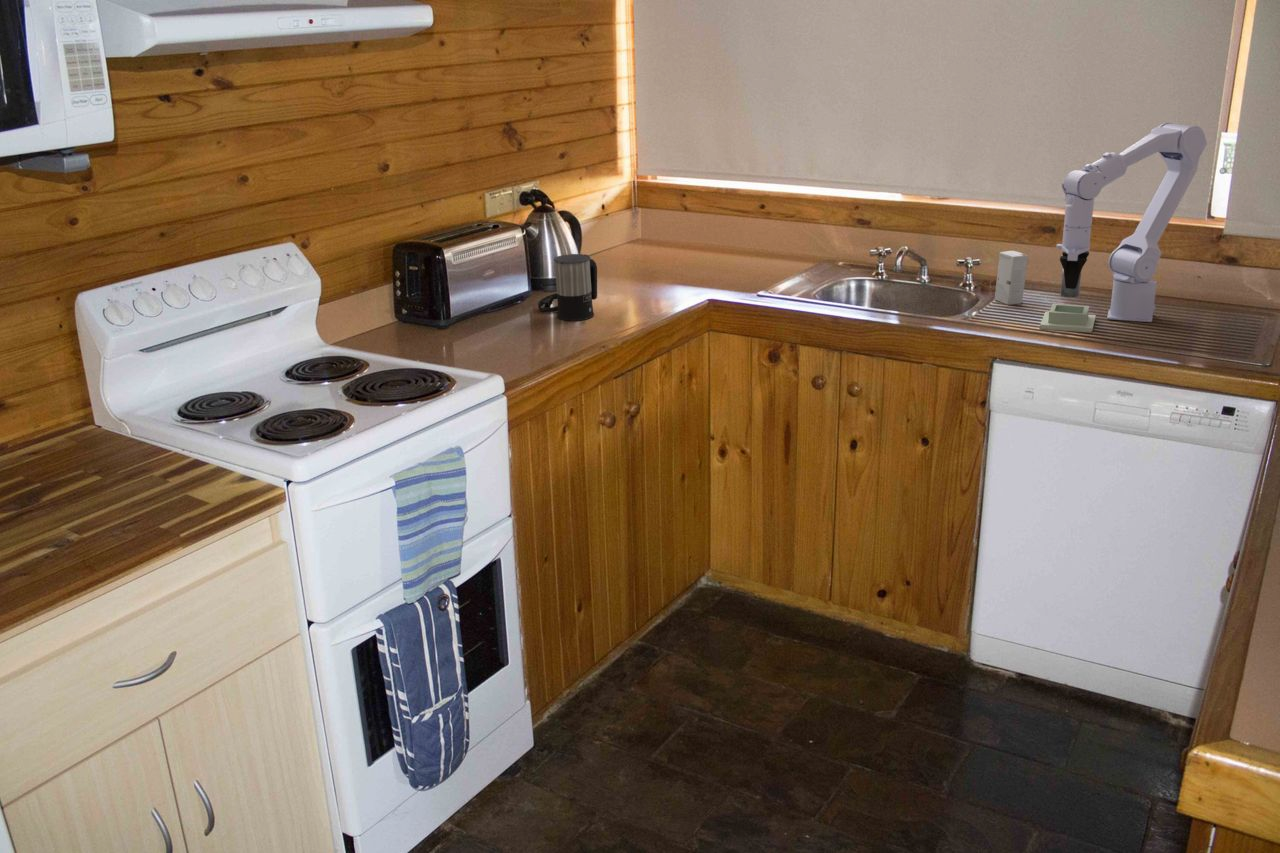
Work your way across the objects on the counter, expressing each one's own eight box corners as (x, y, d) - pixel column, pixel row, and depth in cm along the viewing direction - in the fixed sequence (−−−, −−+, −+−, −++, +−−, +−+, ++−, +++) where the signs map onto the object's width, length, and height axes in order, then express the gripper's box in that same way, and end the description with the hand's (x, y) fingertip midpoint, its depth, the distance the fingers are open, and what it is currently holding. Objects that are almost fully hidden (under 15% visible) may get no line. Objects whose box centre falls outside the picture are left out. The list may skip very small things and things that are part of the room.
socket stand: (1095, 319, 261) (1096, 304, 260) (1091, 332, 251) (1093, 317, 250) (1045, 315, 265) (1046, 301, 264) (1039, 328, 255) (1041, 313, 254)
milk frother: (588, 322, 274) (585, 262, 269) (526, 320, 278) (522, 261, 272) (602, 307, 287) (600, 249, 282) (543, 306, 291) (539, 249, 285)
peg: (1080, 293, 257) (1082, 263, 254) (1078, 297, 253) (1080, 266, 251) (1061, 292, 258) (1063, 262, 256) (1059, 296, 255) (1061, 266, 253)
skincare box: (993, 299, 281) (997, 251, 276) (1009, 298, 282) (1013, 249, 278) (1008, 305, 275) (1012, 256, 271) (1024, 303, 276) (1028, 254, 272)
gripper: (1061, 219, 258) (1055, 277, 263) (1055, 231, 246) (1049, 292, 250) (1094, 220, 255) (1088, 279, 260) (1090, 232, 243) (1083, 294, 248)
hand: (1071, 285), depth 255 cm, fingers closed on peg, 4 cm apart
